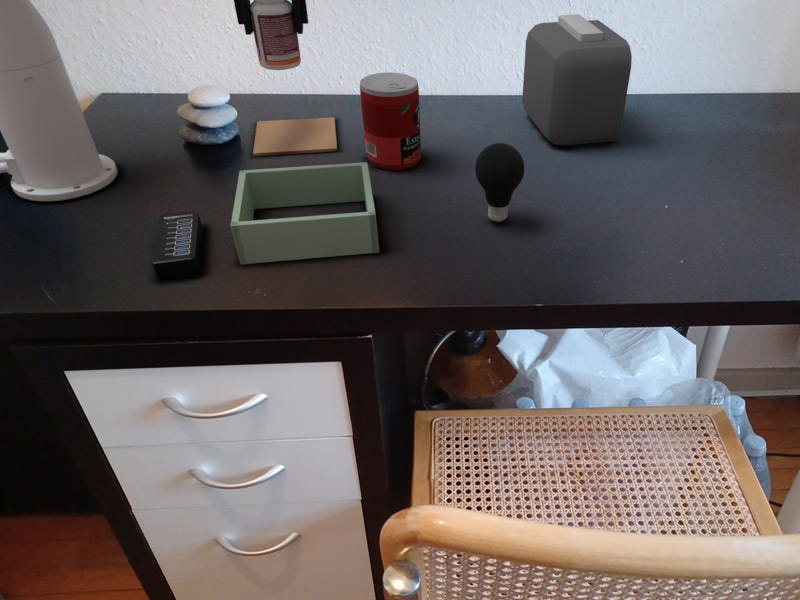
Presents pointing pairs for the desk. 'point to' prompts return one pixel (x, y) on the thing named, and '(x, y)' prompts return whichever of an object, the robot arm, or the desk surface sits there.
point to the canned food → (391, 120)
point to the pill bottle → (275, 34)
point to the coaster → (295, 136)
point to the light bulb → (499, 177)
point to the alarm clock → (576, 80)
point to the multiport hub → (178, 246)
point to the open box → (308, 232)
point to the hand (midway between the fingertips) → (274, 29)
